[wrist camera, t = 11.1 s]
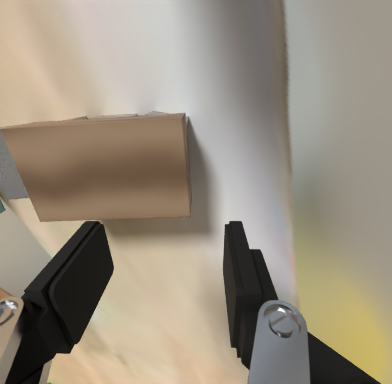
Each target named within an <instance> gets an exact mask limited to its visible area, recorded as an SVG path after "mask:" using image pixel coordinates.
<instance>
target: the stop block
mask: <svg viewBox="0 0 392 384" xmlns="http://www.w3.org/2000/svg"><path fill="white" fill-rule="evenodd" d="M3 211H5V208H4V206H3V204H2V202H1V200H0V213H2V212H3Z"/></svg>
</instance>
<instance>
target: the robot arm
mask: <svg viewBox="0 0 392 384" xmlns="http://www.w3.org/2000/svg"><path fill="white" fill-rule="evenodd" d="M113 270H114V265H113V261H112V257H111V253H110V249H109V245H108V241H107V237H106V233H105V228H104V225H103V224H100V222H99V221H86V222H84V223H83V225H82V226H81V227H80V228H79V229H78V230H77V231H76V232H75V234H74V235H73V236H72V237H71V238H70V239H69V240H68V242H67V243H66V244H65V245H64V246H63V247H62V248H61V249H60V251H59V252H58V253H57V254H56V255H55V256H54V257H53V259H52V260H51V261H50V262H49V263H48V264H47V265H46V267H45V268H44V269H43V270H42V271H41V272H40V273H39V275H38V276H37V277H36V278H35V279H34V280H33V281H32V282H31V283H30V285H29V286H28V287H27V288H26V289H25V290H24V292H25V294H24V295H23V296H22V297H21V298H19V297H14V296H13V297H6V298H3V299H0V384H47V380H48V376H49V371H50V367H51V363H52V359H53V358H54V357H55V355H56V353H64V354H70V352H71V350H72V348H73V347H74V345H75V344H77V343H78V342H79V341H80V339H81V337H82V335H83V333H84V331H85V329H86V327H87V325H88V323H89V321H90V319H91V317H92V315H93V313H94V311H95V309H96V307H97V305H98V302H99V300H100V298H101V296H102V294H103V292H104V290H105V288H106V286H107V284H108V282H109V280H110V278H111V276H112V274H113ZM223 276H224V285H225V295H226V304H227V314H228V323H229V333H230V342H231V348H236V350H237V358H241V362H242V364H243V365H244V366H245V367H246V368H247V369H248V370H249V377H248V383H247V384H381V383H379V382H378V381H376V380H375V379H374V378H372V377H371V376H369V375H368V374H367V373H365V372H364V371H362V370H361V369H359V368H358V367H357V366H355V365H354V364H353V363H351V362H350V361H348V360H347V359H345V358H344V357H343V356H341V355H340V354H338V353H337V352H336V351H334V350H333V349H331V348H330V347H328V346H327V345H326V344H324V343H323V342H322V341H320V340H319V339H317V338H316V337H315V336H313V335H312V334H310V333H309V332H308V331H307V326H306V322H305V319H304V318H303V316H302V314H301V313H300V312H299V311H298V310H297V309H296V308H295V307H293V306H292V305H290V304H288V303H286V302H284V301H279V300H278V297H277V295H276V292H275V289H274V286H273V283H272V280H271V278H270V275H269V272H268V269H267V266H266V263H265V261H264V258H263V255H262V252H261V250H260V249H249V245H248V242H247V238H246V235H245V231H244V228H243V224H242V221H230V222H229V224H225V235H224V258H223Z"/></svg>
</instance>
